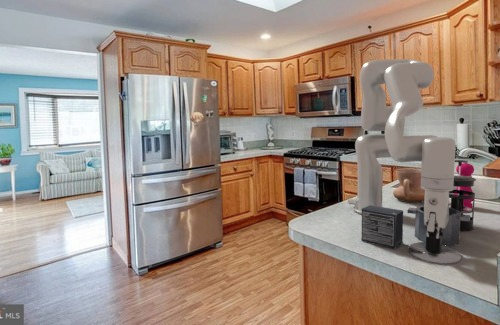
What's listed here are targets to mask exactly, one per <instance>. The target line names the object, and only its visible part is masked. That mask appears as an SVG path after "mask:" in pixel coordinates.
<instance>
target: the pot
mask: <svg viewBox="0 0 500 325" xmlns="http://www.w3.org/2000/svg"><path fill="white" fill-rule="evenodd" d="M407 213H408V214H413V215H415V217H414V218H415V219H414V220H415V222H414V237H415V238H416V239H417V240H418V241H420V242H426V236H427V226H425V225H424V205H418V206H416V208H415V207H409V208H408V209H407ZM407 213H406V214H407ZM470 217H471V214H465V213H463V214H461V212H460V211H458V210H457V209H454V208H450V207H449V221H448V224H447V226H446V228H444V229H442V232H443V239H442V245H447V246H448V247H451V245H452V246H456V245H459V244H460V239H461V238H460V236H461V234H460V233H461V231H460V220H462V221H470ZM455 244H456V245H455Z"/></svg>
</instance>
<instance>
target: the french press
mask: <svg viewBox="0 0 500 325" xmlns="http://www.w3.org/2000/svg"><path fill="white" fill-rule="evenodd" d="M466 160H467V159H466ZM466 160H465V159H455V163H458V164H457V166H459V176H457V175H454V185H453V187H456V188H457V187H458V190H456V189H453V191H449V199H450V204H449V207H450V208H454V209H457V210H458V211H460V212H461V214H472V215H471V216H470V221H462V220H460V232H471V231H473V230H474V228H475V227H474V217H475V216H474V213H475V201H476V197H475V196H476V193H475V192H474V191H473V192H470V191H465V190H459V187H471V188H472V187H473V186H475V181H476V178H475V177H472V178H471V177H465V176H460V167H461V166H462V163H463V162H468V163H469V160H468V161H466ZM454 193H458V195H453V194H454ZM464 194H466V195H464ZM464 199H473V201H472V204H473V205H472V209H471V208H469V207H465V206H463V204H464Z"/></svg>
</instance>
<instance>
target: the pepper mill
mask: <svg viewBox="0 0 500 325" xmlns="http://www.w3.org/2000/svg"><path fill="white" fill-rule="evenodd" d="M464 160H466V161H468V162H462V166H461V167H460V176H465V177H471V178H473V175H472V174H474V173H475V168H474V165H472V164H471V163H469V160H468V159H467V158H466V159H464ZM455 171H456V173H457V175H456V176H459V166H458V165H457V166H456V167H455ZM455 190H458V187H456V188H455ZM459 190H465V191H470V192H473V193H474V191H473V189H472V187H459ZM452 194H453V195H458V193H452ZM464 195H466V194H464ZM463 206H465V207H469V208H471V209H473V199H464V204H463Z"/></svg>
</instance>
